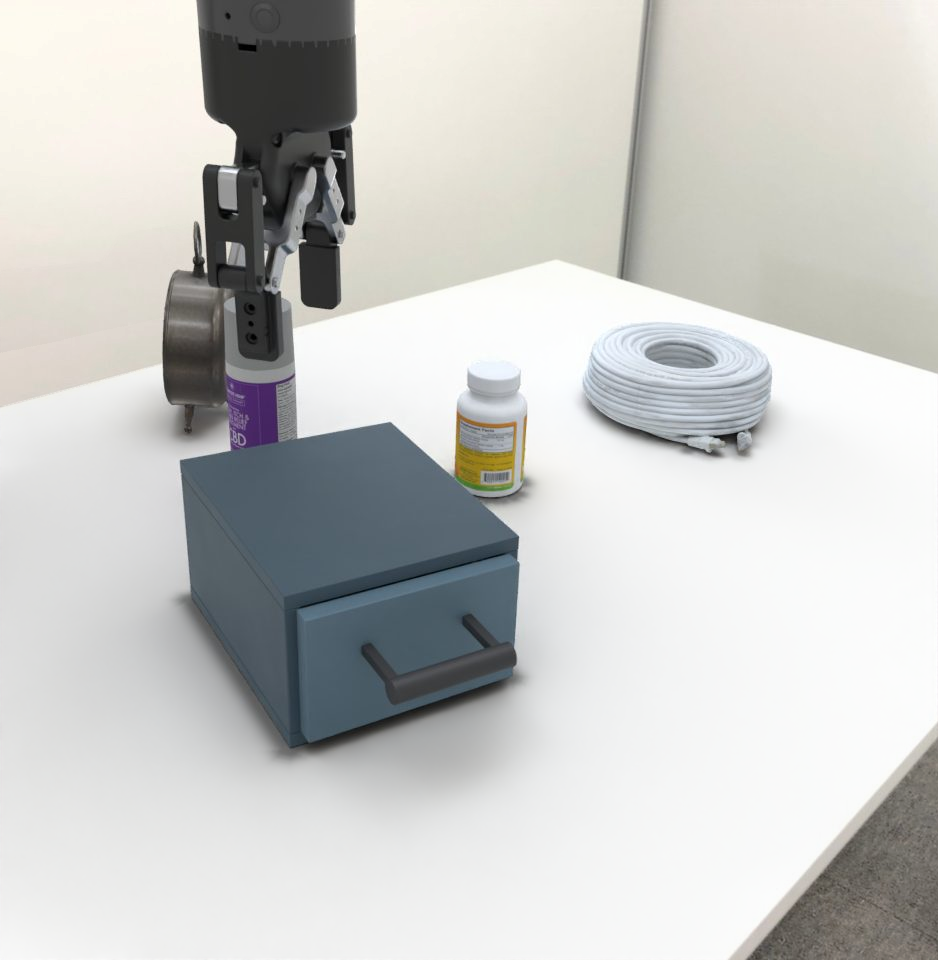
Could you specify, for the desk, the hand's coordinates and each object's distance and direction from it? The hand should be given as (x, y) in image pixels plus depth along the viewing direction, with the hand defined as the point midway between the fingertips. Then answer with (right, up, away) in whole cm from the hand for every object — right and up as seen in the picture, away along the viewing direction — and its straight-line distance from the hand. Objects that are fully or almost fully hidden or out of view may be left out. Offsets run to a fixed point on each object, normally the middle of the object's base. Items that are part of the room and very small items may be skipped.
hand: (293, 330), depth 66 cm
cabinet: (+1, -18, +8) cm, 20 cm away
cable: (+22, -2, +45) cm, 50 cm away
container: (-8, -10, +22) cm, 26 cm away
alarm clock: (-17, -3, +34) cm, 38 cm away
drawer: (+4, -19, +5) cm, 20 cm away
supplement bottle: (+7, -9, +28) cm, 30 cm away
